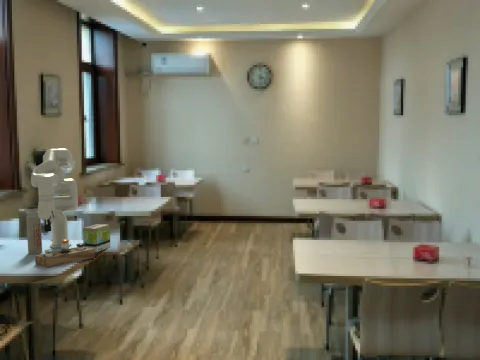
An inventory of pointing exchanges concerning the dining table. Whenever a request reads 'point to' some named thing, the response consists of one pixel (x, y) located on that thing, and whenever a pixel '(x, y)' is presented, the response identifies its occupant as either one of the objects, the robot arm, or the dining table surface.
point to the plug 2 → (80, 246)
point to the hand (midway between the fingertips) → (47, 231)
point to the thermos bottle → (34, 231)
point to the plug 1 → (48, 253)
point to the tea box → (97, 237)
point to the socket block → (64, 257)
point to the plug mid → (65, 245)
